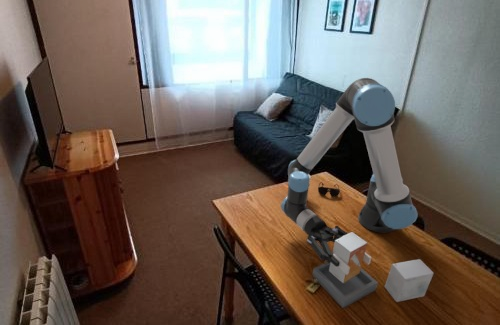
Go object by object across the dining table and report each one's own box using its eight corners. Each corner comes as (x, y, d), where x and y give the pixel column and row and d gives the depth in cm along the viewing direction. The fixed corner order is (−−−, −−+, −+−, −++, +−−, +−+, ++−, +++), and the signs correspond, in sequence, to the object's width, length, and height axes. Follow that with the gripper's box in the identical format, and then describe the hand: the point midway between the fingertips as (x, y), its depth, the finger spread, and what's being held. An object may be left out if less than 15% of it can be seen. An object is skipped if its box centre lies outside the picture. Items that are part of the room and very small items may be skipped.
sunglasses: (317, 195, 149) (318, 186, 147) (318, 186, 160) (319, 178, 158) (339, 198, 146) (340, 189, 145) (338, 189, 158) (339, 180, 156)
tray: (343, 261, 108) (345, 254, 107) (375, 290, 97) (377, 282, 95) (312, 275, 102) (313, 268, 100) (342, 308, 91) (344, 300, 89)
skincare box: (397, 303, 93) (405, 278, 88) (384, 287, 98) (391, 263, 94) (425, 297, 95) (434, 272, 90) (411, 281, 101) (419, 257, 96)
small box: (343, 284, 93) (350, 252, 87) (328, 271, 98) (334, 239, 92) (360, 273, 97) (368, 242, 92) (344, 261, 102) (351, 231, 96)
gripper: (332, 224, 115) (380, 263, 97) (286, 241, 105) (331, 287, 88) (335, 208, 112) (385, 245, 94) (288, 224, 102) (335, 268, 84)
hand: (359, 265), depth 91 cm, fingers closed on small box, 8 cm apart
